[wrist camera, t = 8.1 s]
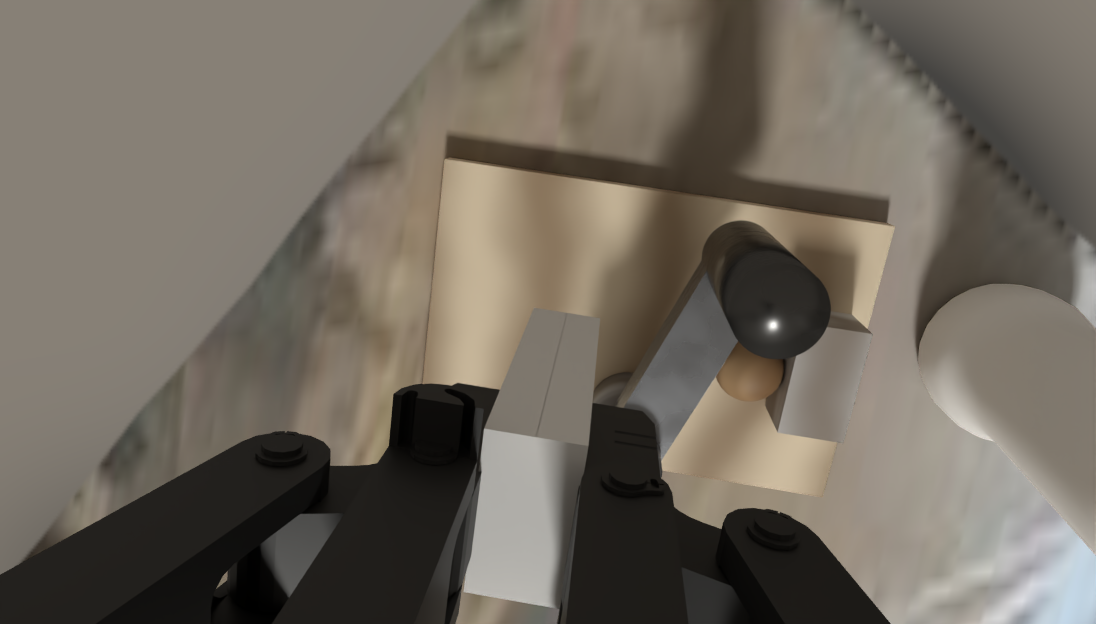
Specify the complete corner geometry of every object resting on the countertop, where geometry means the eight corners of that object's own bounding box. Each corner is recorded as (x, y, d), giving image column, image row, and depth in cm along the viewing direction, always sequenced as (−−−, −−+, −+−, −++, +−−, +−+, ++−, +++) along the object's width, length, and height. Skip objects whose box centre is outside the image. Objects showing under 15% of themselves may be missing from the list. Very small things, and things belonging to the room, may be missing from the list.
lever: (582, 424, 44) (566, 559, 31) (717, 197, 40) (763, 245, 27) (645, 457, 45) (654, 605, 32) (785, 235, 40) (862, 300, 27)
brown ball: (694, 381, 43) (731, 418, 40) (710, 323, 41) (749, 357, 38) (748, 376, 44) (786, 411, 41) (765, 320, 42) (806, 353, 40)
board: (422, 421, 47) (401, 456, 42) (449, 157, 43) (428, 164, 38) (817, 487, 46) (839, 530, 41) (887, 222, 41) (920, 238, 37)
